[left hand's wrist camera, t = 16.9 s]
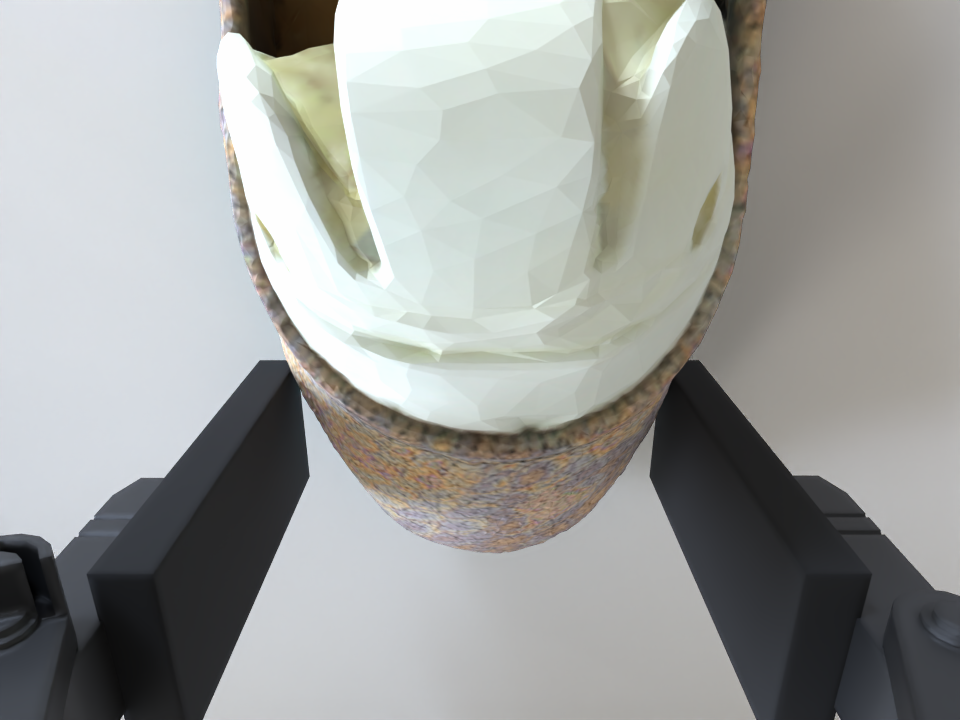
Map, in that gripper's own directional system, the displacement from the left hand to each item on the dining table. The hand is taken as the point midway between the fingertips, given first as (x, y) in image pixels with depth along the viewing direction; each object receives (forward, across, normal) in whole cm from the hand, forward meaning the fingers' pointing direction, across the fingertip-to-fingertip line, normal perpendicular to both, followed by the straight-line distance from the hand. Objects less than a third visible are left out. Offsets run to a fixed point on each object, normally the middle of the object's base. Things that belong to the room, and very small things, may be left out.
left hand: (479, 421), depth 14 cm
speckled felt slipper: (+1, 0, -9) cm, 9 cm away
